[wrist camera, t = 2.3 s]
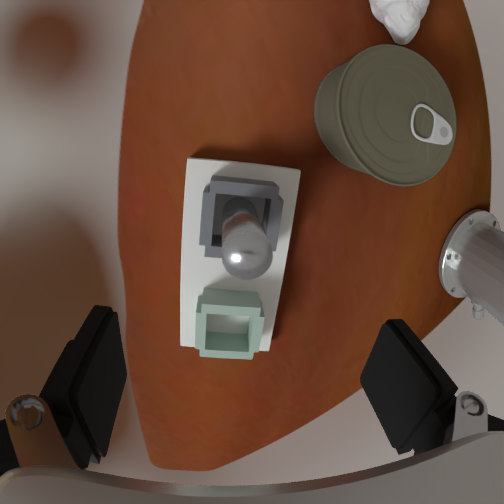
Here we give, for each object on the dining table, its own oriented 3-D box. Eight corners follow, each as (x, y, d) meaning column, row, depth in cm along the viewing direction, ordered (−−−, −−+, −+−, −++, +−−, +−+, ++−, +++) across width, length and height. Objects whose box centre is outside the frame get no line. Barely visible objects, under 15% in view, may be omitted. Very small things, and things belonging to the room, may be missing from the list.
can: (323, 44, 23) (349, 22, 16) (423, 85, 24) (463, 80, 18) (300, 158, 27) (322, 165, 21) (403, 186, 29) (441, 201, 22)
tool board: (267, 342, 34) (272, 368, 30) (181, 337, 33) (177, 363, 29) (297, 168, 27) (309, 175, 23) (189, 157, 26) (182, 161, 22)
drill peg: (261, 219, 27) (281, 265, 18) (232, 235, 28) (237, 287, 18) (246, 191, 26) (258, 223, 17) (216, 207, 26) (211, 248, 17)
